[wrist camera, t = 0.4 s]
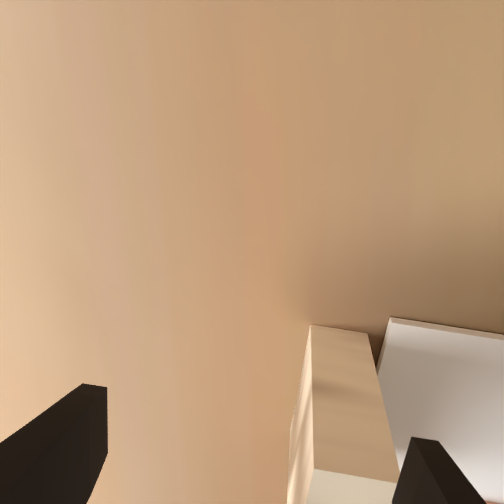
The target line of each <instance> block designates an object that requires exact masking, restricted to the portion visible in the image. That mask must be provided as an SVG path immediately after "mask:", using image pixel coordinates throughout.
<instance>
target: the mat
mask: <svg viewBox="0 0 504 504" xmlns="http://www.w3.org/2000/svg"><path fill="white" fill-rule="evenodd" d="M376 372H377V377H378V381H379V385H380V389H381V394H382V398H383V402H384V406H385V411H386V415H387V419H388V423H389V428H390V432H391V436H392V440H393V445H394V449H395V453H396V457H397V461H398V466H399V470H400V472H401V469H402V466H403V462H404V459H405V456H406V452H407V449H408V446H409V443H410V439H411V436H412V437H418V438H424V439H430V440H437V441H439V442H440V444H441V445H442V446H443V447H444V449H445V450H446V451H447V453H448V454H449V455H450V456H451V458H452V459H453V460H454V462H455V463H456V464H457V466H458V467H459V468H460V470H461V471H462V472H463V474H464V475H465V476H466V478H467V479H468V480H469V481H470V483H471V484H472V485H473V487H474V488H475V489H476V490H477V492H478V493H479V494H480V496H481V497H482V498H483V499H484V501H490V502H495V503H501V504H504V335H502V334H496V333H489V332H483V331H477V330H470V329H464V328H457V327H451V326H445V325H438V324H432V323H426V322H419V321H413V320H407V319H400V318H394V317H390V318H389V322H388V326H387V330H386V334H385V337H384V341H383V345H382V349H381V352H380V356H379V360H378V364H377V367H376Z"/></svg>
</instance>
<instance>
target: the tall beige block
mask: <svg viewBox="0 0 504 504" xmlns="http://www.w3.org/2000/svg"><path fill="white" fill-rule="evenodd" d="M399 476H400V470H399V466H398V461H397V457H396V453H395V449H394V445H393V440H392V436H391V432H390V428H389V423H388V419H387V415H386V411H385V406H384V402H383V398H382V394H381V389H380V385H379V381H378V377H377V372H376V368H375V364H374V360H373V355H372V351H371V347H370V343H369V338H368V334H367V333H362V332H356V331H349V330H343V329H337V328H331V327H324V326H318V325H312V324H311V325H310V330H309V335H308V341H307V346H306V351H305V356H304V361H303V366H302V372H301V377H300V382H299V387H298V392H297V398H296V403H295V408H294V413H293V418H292V423H291V429H290V449H289V473H288V497H287V504H392V499H393V495H394V492H395V489H396V486H397V482H398V479H399Z"/></svg>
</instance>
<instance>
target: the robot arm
mask: <svg viewBox="0 0 504 504" xmlns="http://www.w3.org/2000/svg"><path fill="white" fill-rule="evenodd" d="M107 454H108V427H107V387H102V386H96V385H89V384H81V385H80V386H78V387H77V388H76V389H74V390H73V391H71V392H70V393H69V394H67V395H66V396H64V397H63V398H62V399H60V400H59V401H58V402H56V403H55V404H54V405H52V406H51V407H50V408H48V409H47V410H46V411H44V412H43V413H41V414H40V415H39V416H37V417H36V418H35V419H33V420H32V421H30V422H29V423H28V424H26V425H25V426H23V427H22V428H21V429H19V430H18V431H16V432H15V433H14V434H12V435H11V436H9V437H8V438H7V439H5V440H4V441H2V442H1V443H0V504H86V503H87V501H88V499H89V497H90V496H91V493H92V491H93V488H94V486H95V484H96V481H97V479H98V477H99V474H100V471H101V469H102V466H103V464H104V461H105V459H106V456H107ZM392 504H487V503H486V502H485V501H484V499H483V498H482V497H481V496H480V494H479V493H478V492H477V490H476V489H475V488H474V487H473V485H472V484H471V483H470V481H469V480H468V479H467V478H466V476H465V475H464V474H463V472H462V471H461V470H460V468H459V467H458V466H457V464H456V463H455V462H454V460H453V459H452V458H451V456H450V455H449V454H448V453H447V451H446V450H445V449H444V447H443V446H442V445H441V444H440V442H439V441H437V440H430V439H424V438H418V437H412V436H411V439H410V443H409V446H408V449H407V452H406V456H405V459H404V462H403V466H402V469H401V472H400V476H399V479H398V482H397V486H396V489H395V492H394V495H393V499H392Z"/></svg>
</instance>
